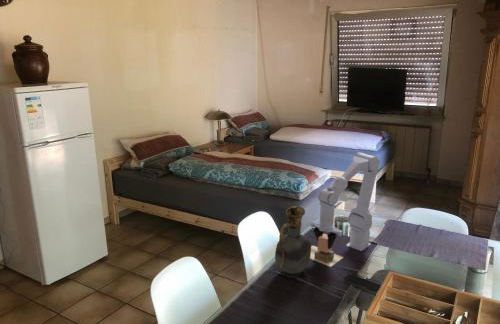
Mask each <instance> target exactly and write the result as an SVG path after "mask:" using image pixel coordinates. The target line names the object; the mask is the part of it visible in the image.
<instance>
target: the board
mask: <svg viewBox="0 0 500 324" xmlns="http://www.w3.org/2000/svg"><path fill="white" fill-rule="evenodd" d="M317 248H318V246H315V245H311V255H310V260H312V261H315V262H317V263H320V264H322V265H325V266H327V267H330V268H332V267H333V266H334V265H336V264H337V263H338V262H340V261H341V260H342V259H344V256H342V255H339V254H338V253H337V254H336V253H334V258H333V259H331V260H330V261H329V262H327V263H325V262H323V261H320V260H318V259H315V258H314V257H315V252H316V251H317Z"/></svg>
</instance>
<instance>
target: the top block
mask: <svg viewBox="0 0 500 324" xmlns="http://www.w3.org/2000/svg"><path fill="white" fill-rule="evenodd" d="M327 235H328V233H323V234H322V235H321V236H319V237H318V242H317V247H318V248H317V250H320V251H323V252H325V253H327V252H329V251H330V250H331V251H333V250H332V249H333V247H332V248H330V249H328V237H327Z"/></svg>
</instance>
